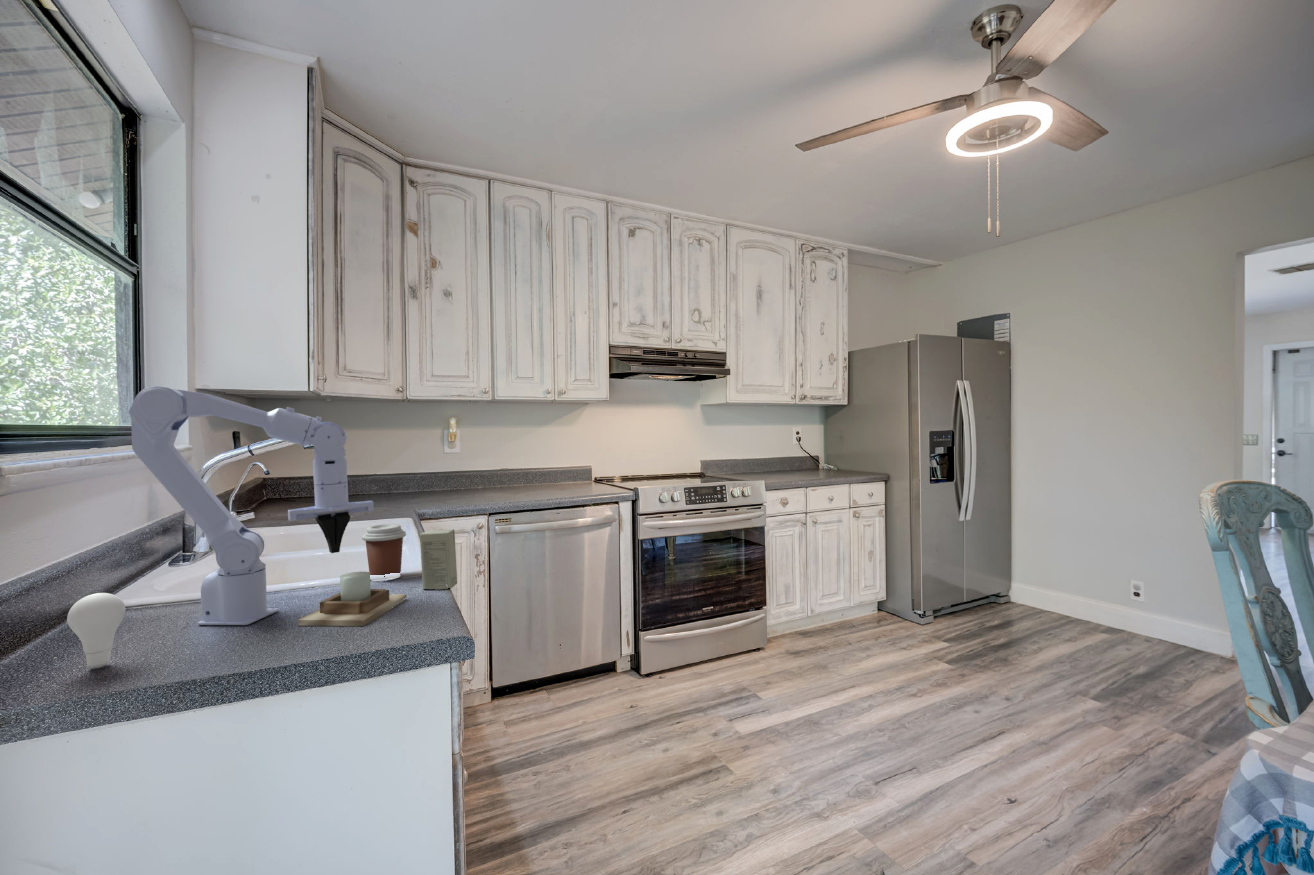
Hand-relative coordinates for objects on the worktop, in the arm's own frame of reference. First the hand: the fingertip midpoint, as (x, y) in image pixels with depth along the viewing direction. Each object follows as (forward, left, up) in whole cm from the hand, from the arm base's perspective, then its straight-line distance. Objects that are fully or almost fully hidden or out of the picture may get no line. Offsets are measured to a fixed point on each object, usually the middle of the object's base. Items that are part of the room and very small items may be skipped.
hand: (334, 551), depth 111 cm
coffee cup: (0, +19, -11) cm, 22 cm away
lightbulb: (-17, -29, -11) cm, 36 cm away
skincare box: (+16, +12, -11) cm, 22 cm away
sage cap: (+7, -4, -9) cm, 12 cm away
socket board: (+7, -4, -10) cm, 13 cm away
